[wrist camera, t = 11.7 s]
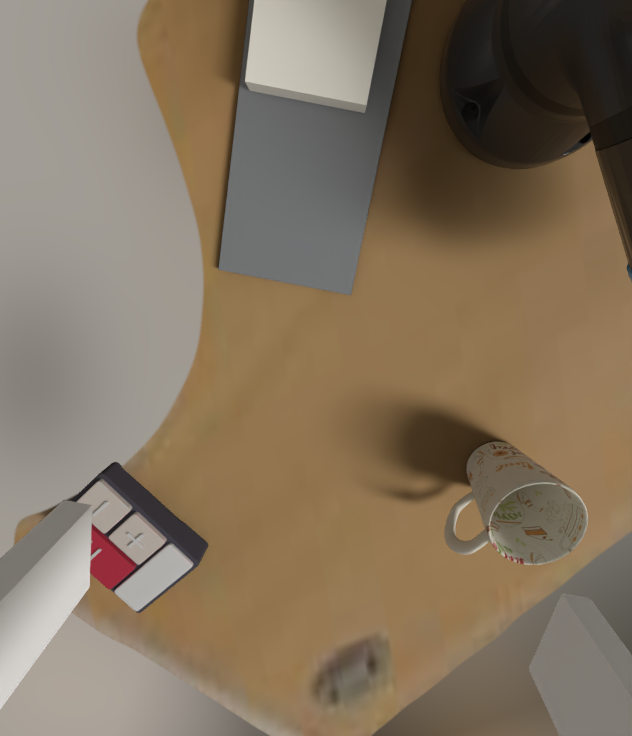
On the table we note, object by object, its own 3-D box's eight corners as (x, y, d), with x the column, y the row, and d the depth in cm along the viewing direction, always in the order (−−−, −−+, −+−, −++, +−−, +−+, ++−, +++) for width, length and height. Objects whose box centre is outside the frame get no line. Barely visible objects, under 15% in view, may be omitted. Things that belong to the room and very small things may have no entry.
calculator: (96, 475, 43) (197, 569, 45) (118, 457, 47) (210, 543, 49) (36, 533, 46) (134, 620, 48) (62, 511, 50) (152, 591, 52)
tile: (364, 114, 35) (400, -74, 32) (366, 105, 33) (405, -98, 29) (250, 91, 35) (273, -99, 32) (244, 81, 33) (269, -125, 29)
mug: (549, 464, 44) (609, 524, 35) (462, 535, 47) (494, 608, 38) (497, 415, 43) (544, 463, 33) (411, 491, 46) (431, 555, 36)
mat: (426, -74, 32) (428, -80, 31) (350, 294, 40) (350, 295, 40) (263, -107, 32) (262, -113, 31) (220, 269, 40) (218, 269, 39)
